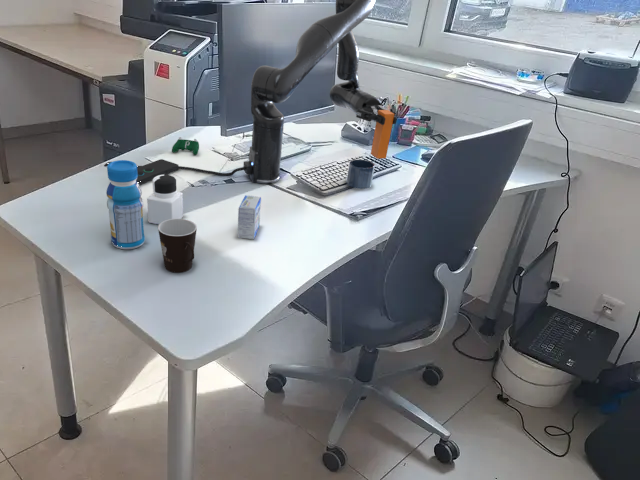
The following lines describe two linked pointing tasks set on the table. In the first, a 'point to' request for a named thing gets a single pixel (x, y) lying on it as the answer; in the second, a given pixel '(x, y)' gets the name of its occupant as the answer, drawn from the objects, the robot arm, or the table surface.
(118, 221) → the beverage bottle
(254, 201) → the medicine box
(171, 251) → the coffee mug
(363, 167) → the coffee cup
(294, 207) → the table surface
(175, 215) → the medicine bottle
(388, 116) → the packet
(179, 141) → the gaming controller
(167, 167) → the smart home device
